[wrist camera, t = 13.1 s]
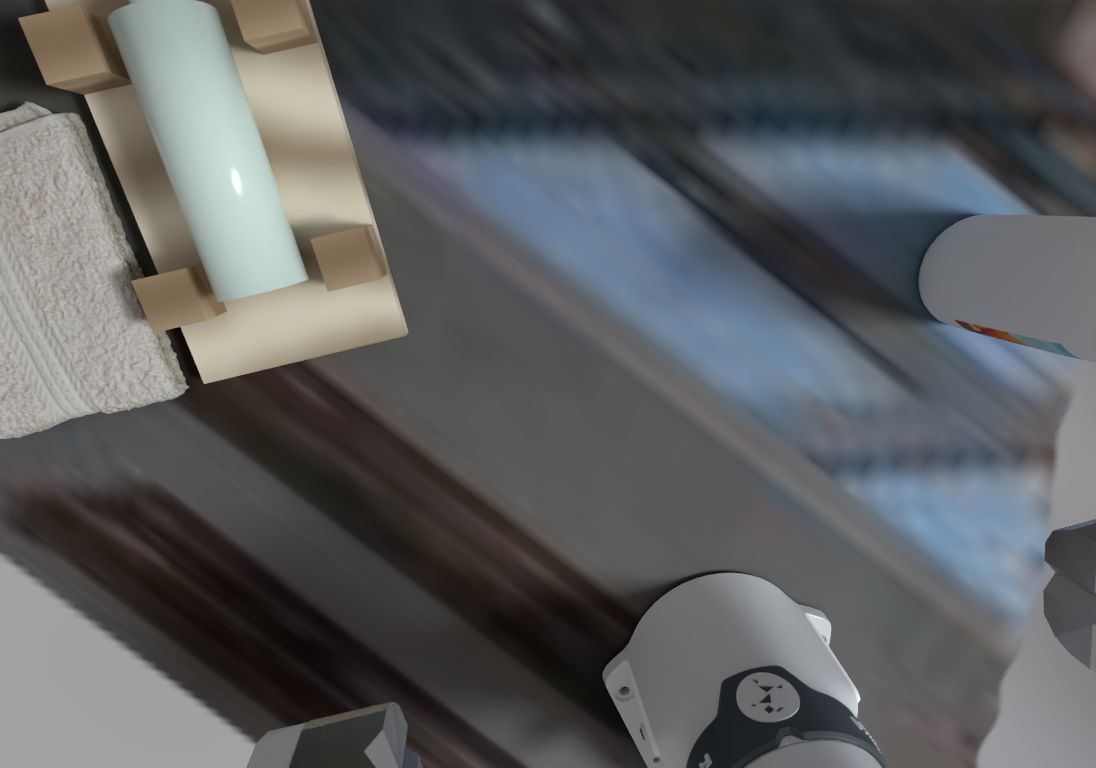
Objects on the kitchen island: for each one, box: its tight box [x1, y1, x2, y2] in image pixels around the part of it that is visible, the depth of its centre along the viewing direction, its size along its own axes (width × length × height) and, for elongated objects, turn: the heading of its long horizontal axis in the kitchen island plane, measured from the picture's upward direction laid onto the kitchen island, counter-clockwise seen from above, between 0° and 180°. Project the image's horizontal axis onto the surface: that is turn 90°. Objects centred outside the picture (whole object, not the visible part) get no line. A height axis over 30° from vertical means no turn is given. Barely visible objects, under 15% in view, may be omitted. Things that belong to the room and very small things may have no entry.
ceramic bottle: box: [108, 0, 309, 302], centre depth 32 cm, size 18×5×5 cm, turn 12°
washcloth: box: [0, 101, 189, 439], centre depth 36 cm, size 12×18×3 cm, turn 12°
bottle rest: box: [18, 0, 408, 384], centre depth 34 cm, size 24×13×4 cm, turn 13°
